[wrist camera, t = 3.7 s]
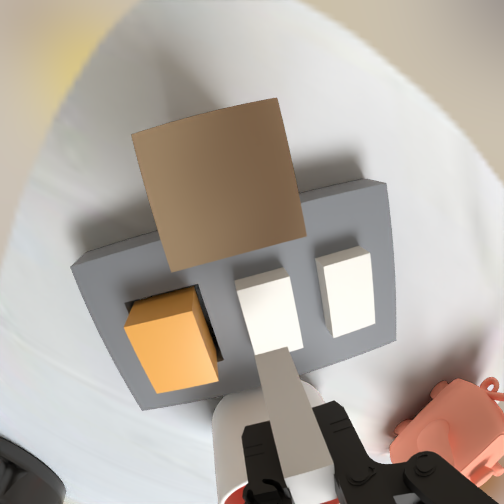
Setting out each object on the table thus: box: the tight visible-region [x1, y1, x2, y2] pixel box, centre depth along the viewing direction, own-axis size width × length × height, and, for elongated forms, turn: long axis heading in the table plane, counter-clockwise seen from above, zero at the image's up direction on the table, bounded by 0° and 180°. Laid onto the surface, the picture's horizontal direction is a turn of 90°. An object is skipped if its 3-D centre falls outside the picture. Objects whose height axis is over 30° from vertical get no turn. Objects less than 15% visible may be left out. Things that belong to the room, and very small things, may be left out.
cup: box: [212, 380, 340, 504], centre depth 22 cm, size 10×10×10 cm
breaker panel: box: [70, 179, 396, 411], centre depth 21 cm, size 20×12×4 cm, turn 103°
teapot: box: [390, 377, 504, 487], centre depth 25 cm, size 15×17×13 cm
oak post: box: [131, 98, 307, 273], centre depth 14 cm, size 4×4×12 cm
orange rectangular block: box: [124, 286, 219, 394], centre depth 19 cm, size 4×5×3 cm
